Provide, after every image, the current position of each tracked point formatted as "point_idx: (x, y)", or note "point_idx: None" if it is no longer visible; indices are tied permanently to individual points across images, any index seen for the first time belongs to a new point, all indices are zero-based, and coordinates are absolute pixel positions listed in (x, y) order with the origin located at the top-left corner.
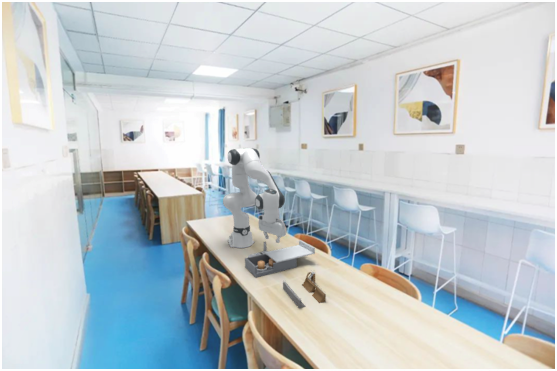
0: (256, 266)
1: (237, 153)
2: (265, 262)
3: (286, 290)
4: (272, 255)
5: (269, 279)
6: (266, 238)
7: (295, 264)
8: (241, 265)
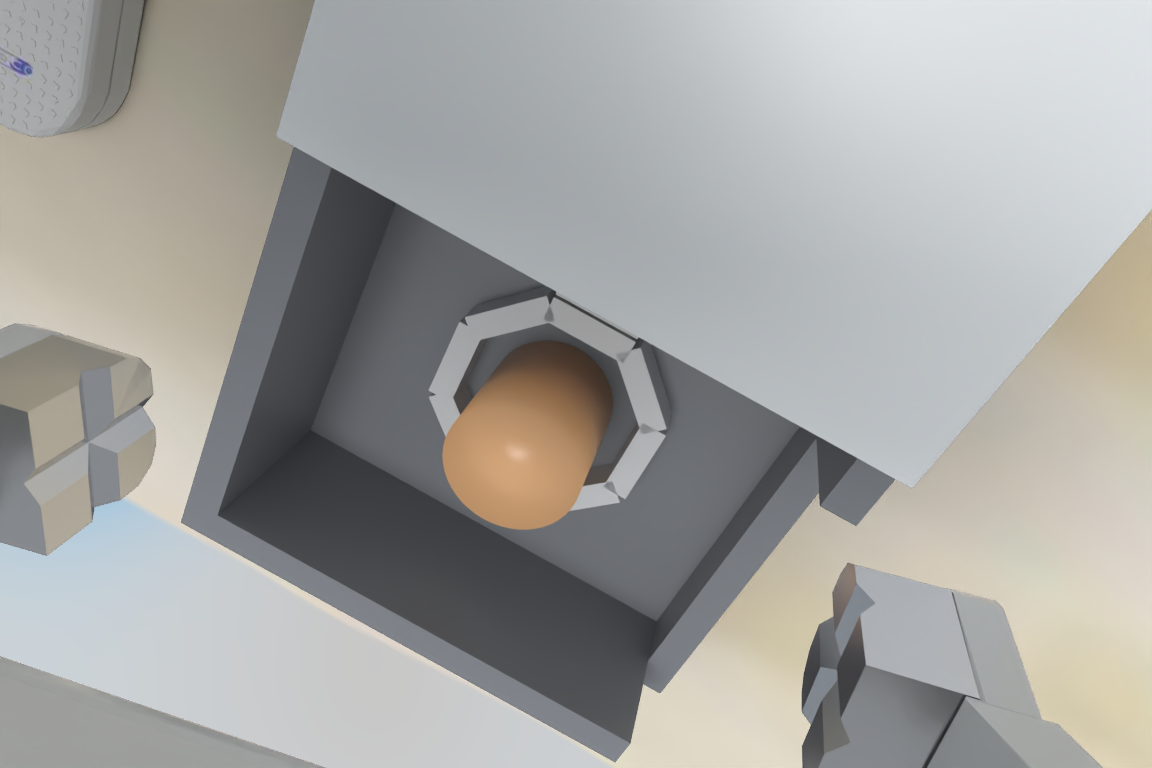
0: (447, 420)
1: None
2: None
3: None
4: (592, 221)
5: (859, 565)
6: (122, 493)
7: None
8: (168, 366)
